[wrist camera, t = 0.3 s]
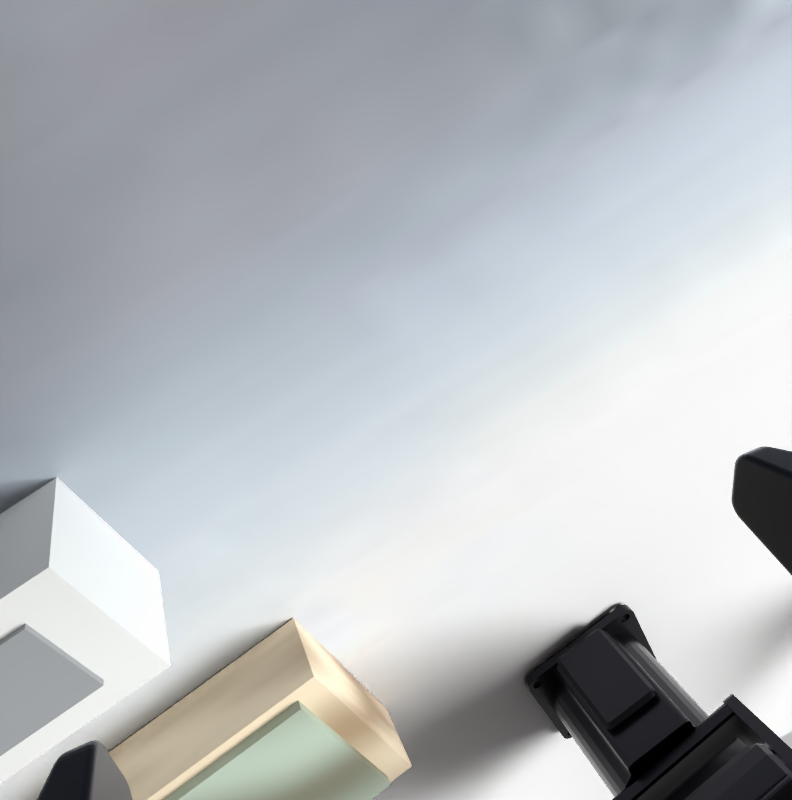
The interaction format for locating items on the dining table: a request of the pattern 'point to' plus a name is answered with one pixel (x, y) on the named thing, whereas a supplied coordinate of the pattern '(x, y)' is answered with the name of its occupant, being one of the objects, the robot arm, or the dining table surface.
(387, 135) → the dining table surface
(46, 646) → the box
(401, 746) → the stand
